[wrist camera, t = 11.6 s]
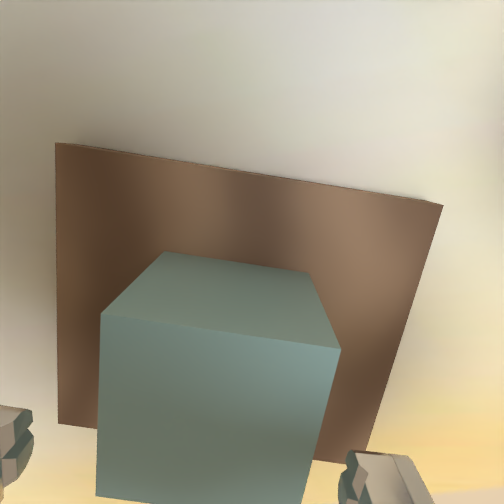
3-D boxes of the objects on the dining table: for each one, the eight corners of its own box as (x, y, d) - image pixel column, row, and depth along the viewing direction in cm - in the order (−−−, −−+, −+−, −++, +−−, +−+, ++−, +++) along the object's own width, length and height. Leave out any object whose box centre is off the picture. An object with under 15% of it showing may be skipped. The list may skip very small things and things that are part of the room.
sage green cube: (154, 375, 16) (95, 496, 10) (164, 250, 14) (100, 313, 9) (282, 393, 16) (295, 523, 10) (308, 273, 14) (341, 349, 9)
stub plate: (73, 402, 18) (8, 488, 14) (75, 144, 15) (-15, 137, 10) (352, 442, 19) (384, 540, 14) (425, 200, 15) (504, 221, 10)
